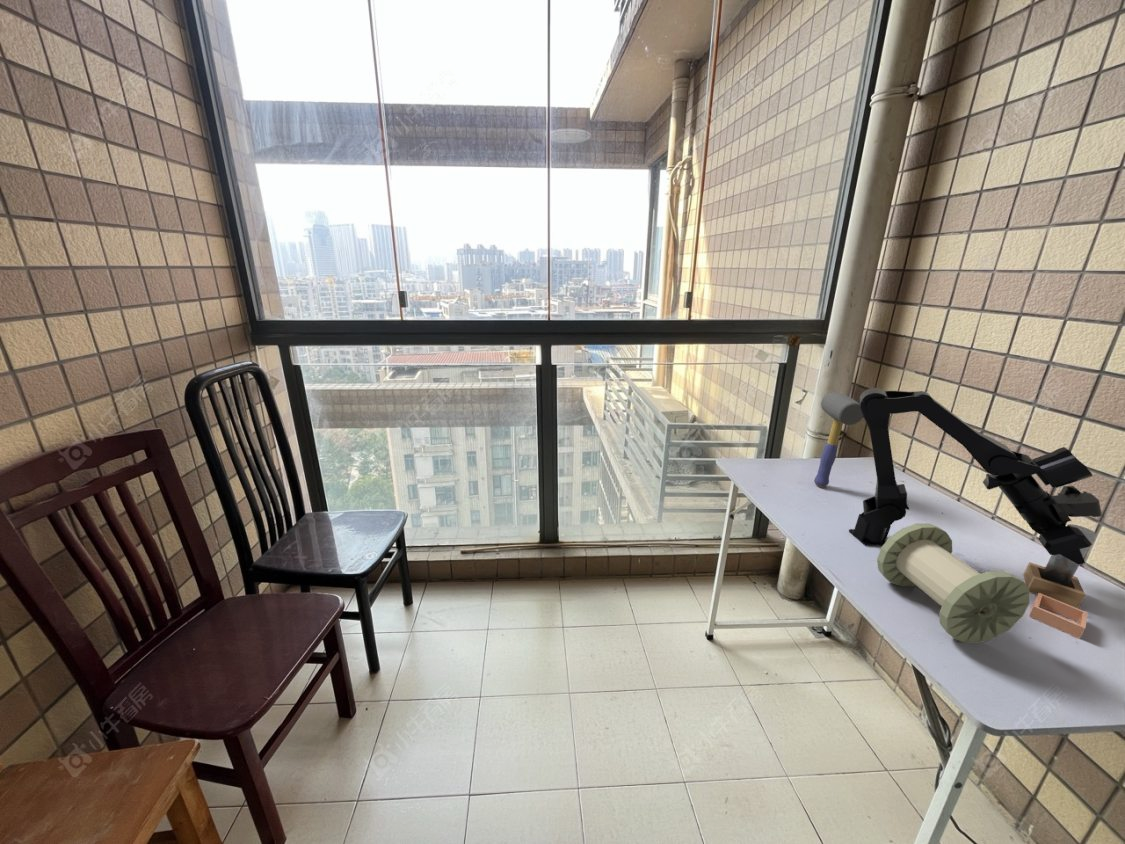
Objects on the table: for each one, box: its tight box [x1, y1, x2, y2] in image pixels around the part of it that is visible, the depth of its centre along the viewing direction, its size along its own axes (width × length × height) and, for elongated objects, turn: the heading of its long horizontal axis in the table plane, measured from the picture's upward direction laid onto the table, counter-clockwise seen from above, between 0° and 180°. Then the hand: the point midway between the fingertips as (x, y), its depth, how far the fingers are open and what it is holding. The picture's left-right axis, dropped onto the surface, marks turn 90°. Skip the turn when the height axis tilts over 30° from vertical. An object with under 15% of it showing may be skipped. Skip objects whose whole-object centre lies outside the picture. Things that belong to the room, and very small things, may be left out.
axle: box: [1041, 523, 1097, 587], centre depth 91 cm, size 4×4×13 cm
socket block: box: [1028, 593, 1089, 639], centre depth 85 cm, size 7×7×2 cm
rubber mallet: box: [813, 391, 864, 488], centre depth 132 cm, size 12×8×30 cm, turn 174°
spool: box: [876, 522, 1031, 644], centre depth 85 cm, size 16×15×15 cm
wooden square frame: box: [1022, 561, 1086, 609], centre depth 93 cm, size 7×7×4 cm
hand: (1077, 557), depth 90 cm, fingers closed on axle, 4 cm apart
